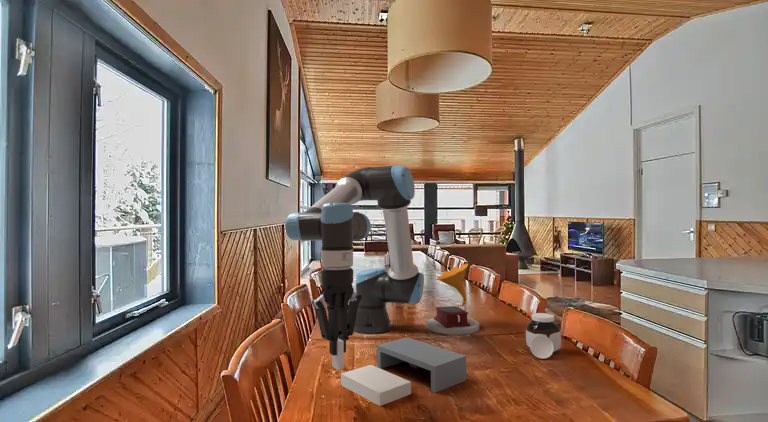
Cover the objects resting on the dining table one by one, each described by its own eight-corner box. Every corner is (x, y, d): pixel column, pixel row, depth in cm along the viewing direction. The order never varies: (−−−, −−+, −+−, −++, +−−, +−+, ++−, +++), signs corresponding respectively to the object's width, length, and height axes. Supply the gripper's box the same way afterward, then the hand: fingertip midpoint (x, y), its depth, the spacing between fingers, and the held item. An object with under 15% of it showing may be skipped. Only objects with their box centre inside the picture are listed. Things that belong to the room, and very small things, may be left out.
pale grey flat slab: (340, 385, 109) (340, 373, 109) (371, 375, 116) (371, 364, 116) (379, 406, 97) (379, 393, 97) (411, 394, 103) (410, 381, 103)
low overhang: (377, 367, 122) (376, 345, 122) (407, 358, 129) (407, 337, 129) (435, 392, 104) (435, 366, 104) (466, 380, 112) (466, 355, 112)
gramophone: (466, 319, 177) (465, 260, 177) (488, 332, 157) (487, 265, 157) (420, 322, 173) (419, 262, 173) (436, 336, 153) (435, 267, 153)
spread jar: (551, 347, 139) (550, 311, 139) (571, 358, 128) (571, 320, 128) (517, 349, 137) (516, 313, 137) (535, 361, 126) (535, 322, 126)
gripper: (322, 271, 93) (322, 379, 92) (368, 266, 101) (369, 365, 100) (305, 268, 98) (305, 369, 98) (350, 264, 107) (351, 357, 106)
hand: (337, 367), depth 99 cm, fingers closed
